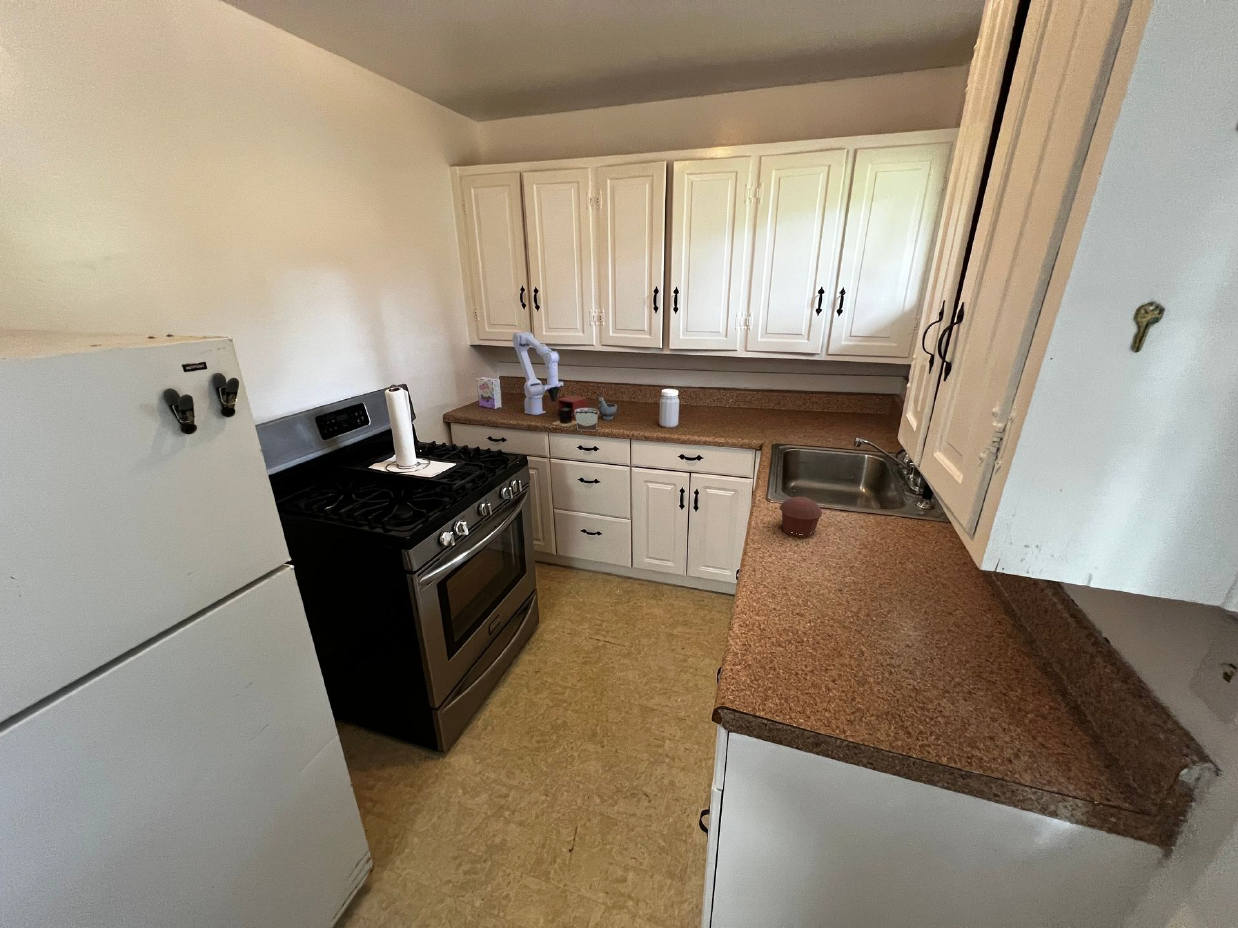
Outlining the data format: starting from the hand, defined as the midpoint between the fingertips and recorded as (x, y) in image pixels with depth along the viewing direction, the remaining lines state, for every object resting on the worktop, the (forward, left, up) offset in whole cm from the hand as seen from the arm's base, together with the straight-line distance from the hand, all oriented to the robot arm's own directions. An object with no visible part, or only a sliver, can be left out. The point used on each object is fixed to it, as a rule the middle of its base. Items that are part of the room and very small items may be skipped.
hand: (553, 401), depth 252 cm
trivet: (+11, -4, -9) cm, 15 cm away
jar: (+57, +22, -10) cm, 62 cm away
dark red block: (+3, +12, -9) cm, 16 cm away
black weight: (+11, -4, -9) cm, 15 cm away
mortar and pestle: (+23, +16, -10) cm, 30 cm away
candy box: (-48, -1, -10) cm, 49 cm away
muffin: (+140, -54, -10) cm, 150 cm away
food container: (+26, -5, -10) cm, 28 cm away
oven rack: (+3, +10, -8) cm, 14 cm away
